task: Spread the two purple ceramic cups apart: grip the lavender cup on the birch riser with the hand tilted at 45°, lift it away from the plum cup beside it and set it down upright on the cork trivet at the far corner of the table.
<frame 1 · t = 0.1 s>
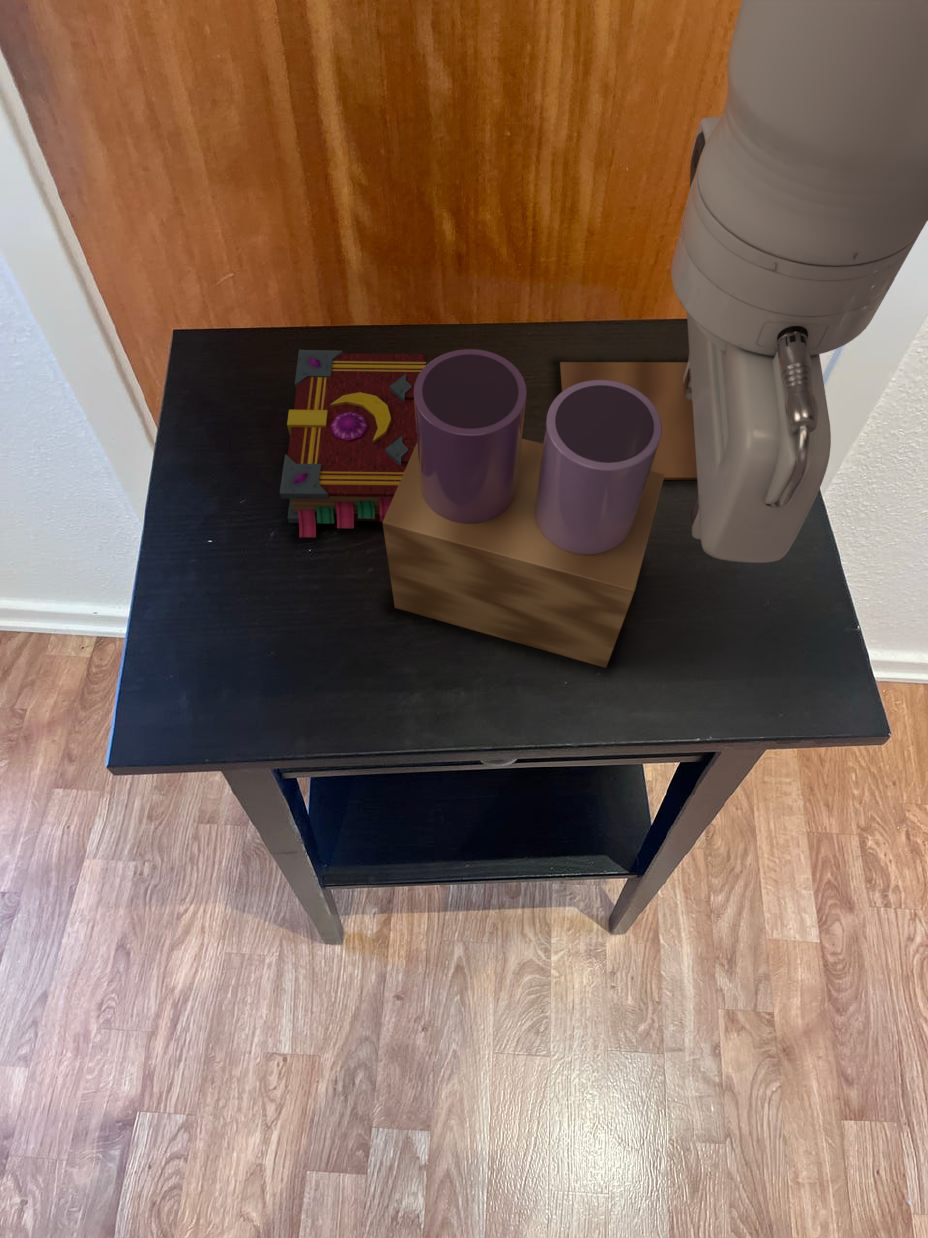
hand: (701, 457, 48), 21 cm above the table, tool pointing down, fingers open, 8 cm apart
plum cup: (468, 483, 58), point 12 cm above the table, touching riser
lavender cup: (584, 512, 57), point 12 cm above the table, touching riser
decorative book: (363, 460, 74), on the table
riser: (515, 586, 68), on the table
trivet: (637, 420, 76), on the table
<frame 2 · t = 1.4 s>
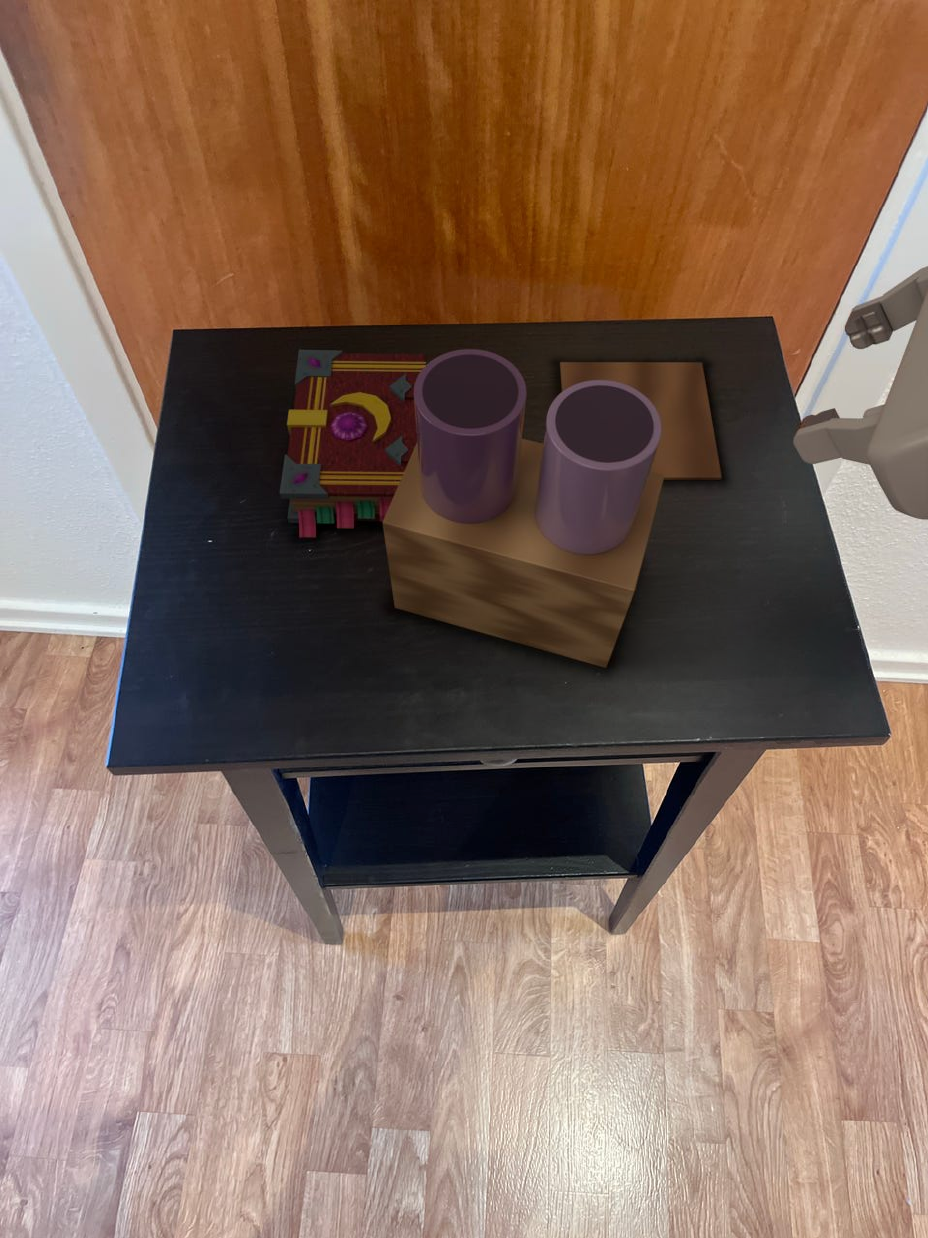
hand: (827, 383, 43), 27 cm above the table, tool tilted 45°, fingers open, 8 cm apart
nothing on the table moved.
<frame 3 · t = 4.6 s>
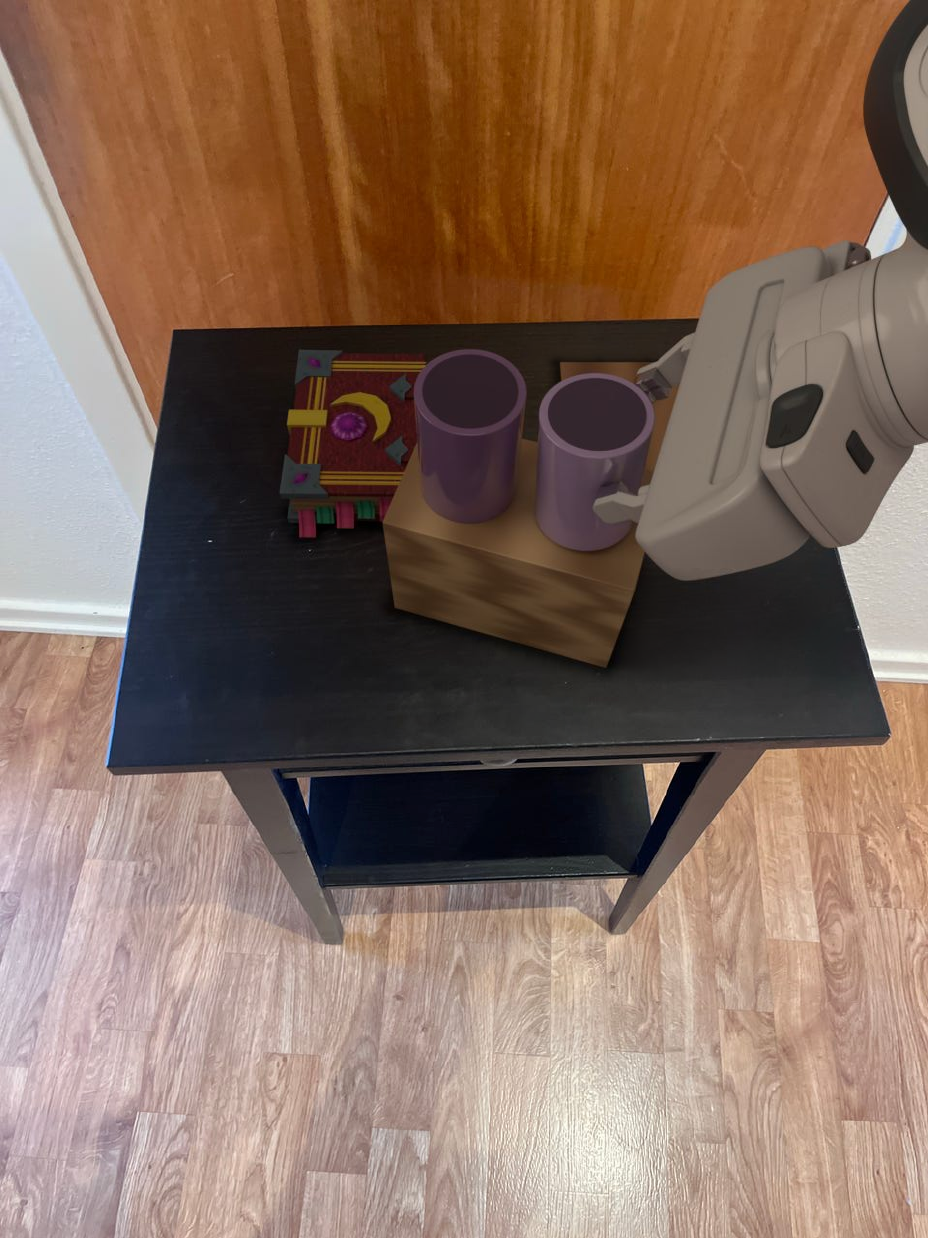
hand: (621, 445, 52), 18 cm above the table, tool tilted 45°, fingers open, 8 cm apart
lavender cup: (584, 510, 57), point 12 cm above the table, touching gripper, riser
everything else where it was.
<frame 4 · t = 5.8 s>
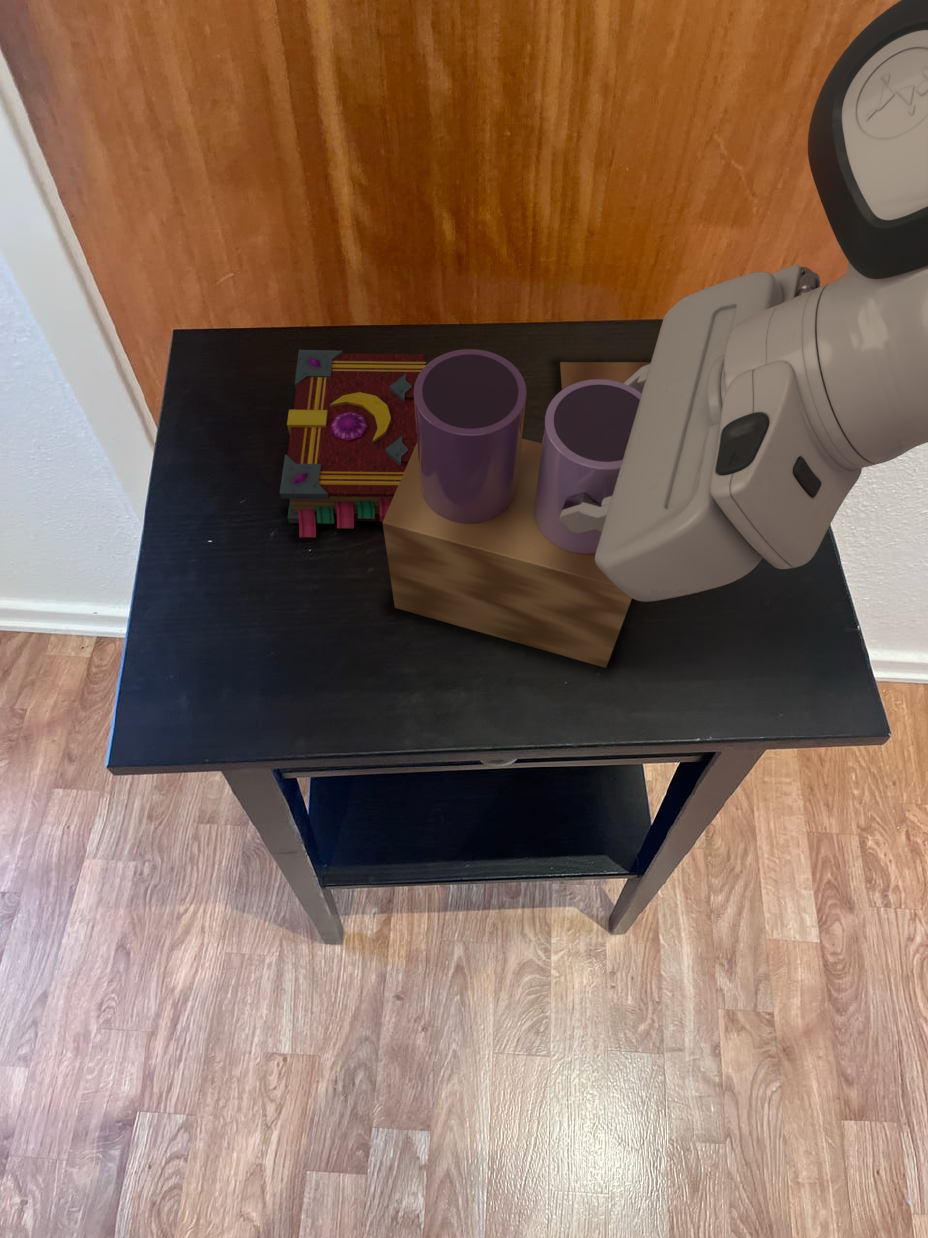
hand: (583, 466, 53), 17 cm above the table, tool tilted 45°, fingers closed on lavender cup, 6 cm apart
lavender cup: (583, 512, 57), point 12 cm above the table, touching gripper, riser
everything else where it was.
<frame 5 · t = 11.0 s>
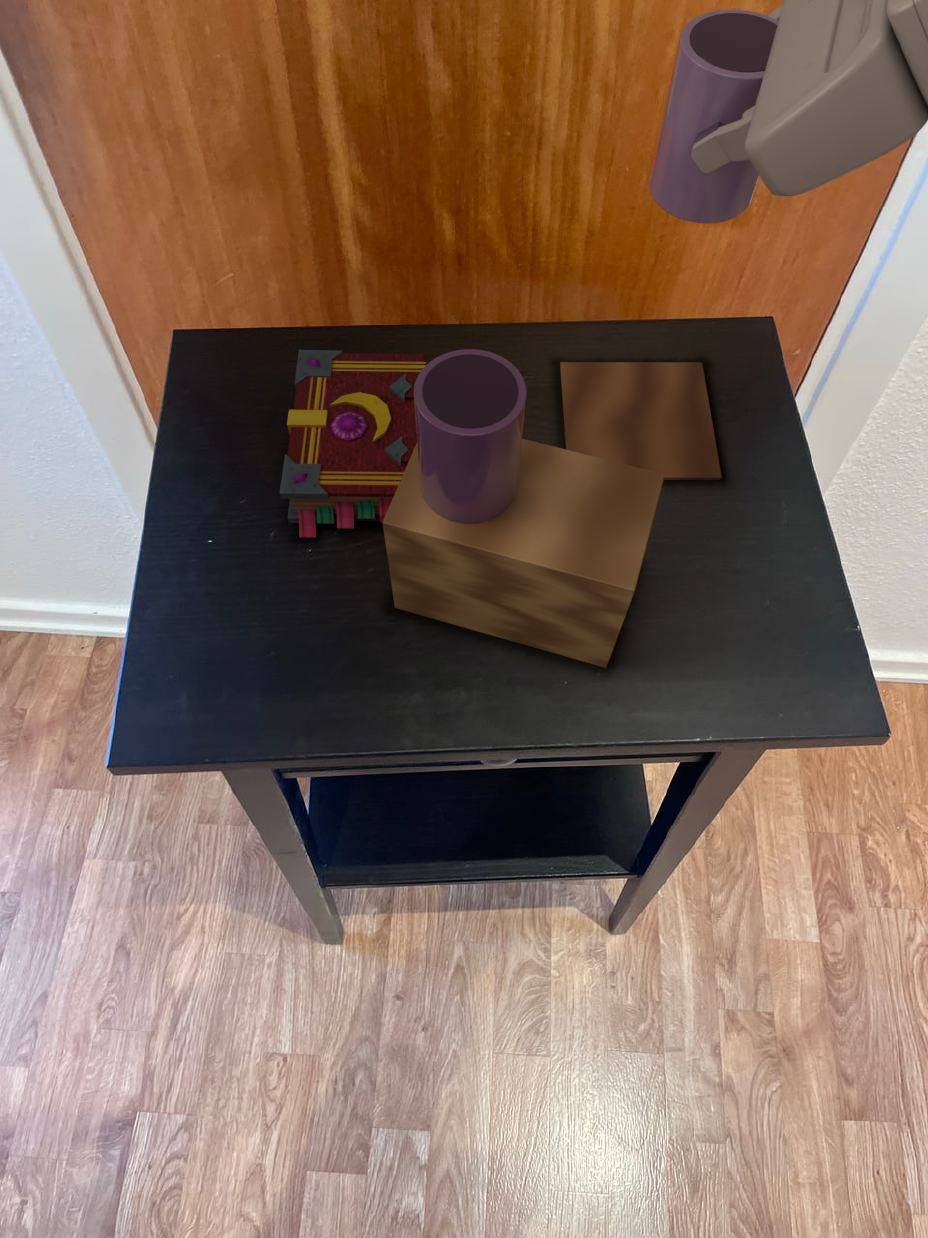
hand: (710, 116, 51), 28 cm above the table, tool tilted 45°, fingers closed on lavender cup, 6 cm apart
lavender cup: (700, 189, 55), point 23 cm above the table, touching gripper
everything else where it was.
when the fingers open (5 cm above the table, at t = 16.4 s): lavender cup stays where it is, resting on trivet.
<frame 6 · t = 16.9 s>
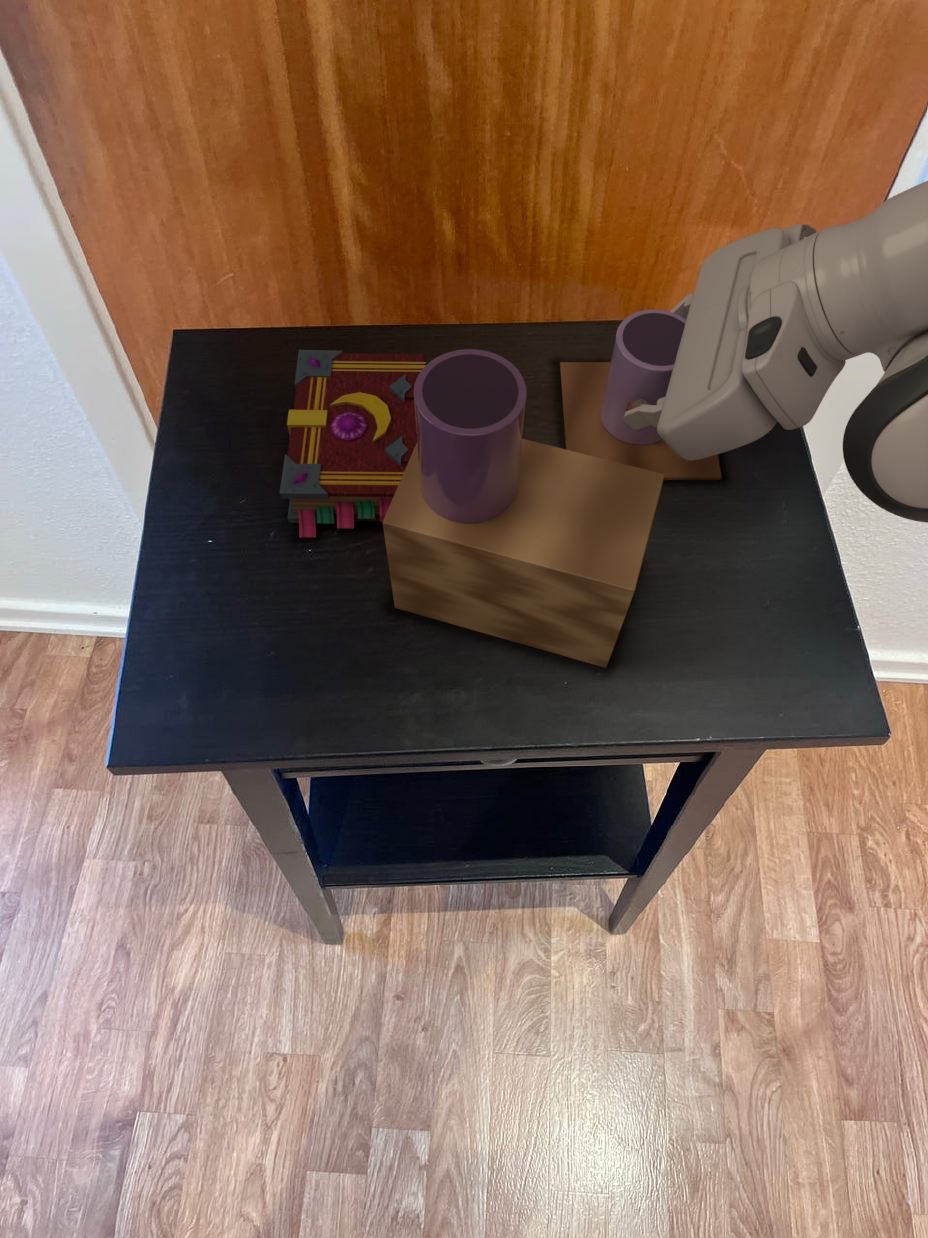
hand: (641, 375, 71), 5 cm above the table, tool tilted 45°, fingers open, 8 cm apart
lavender cup: (637, 415, 76), resting on trivet
everything else where it was.
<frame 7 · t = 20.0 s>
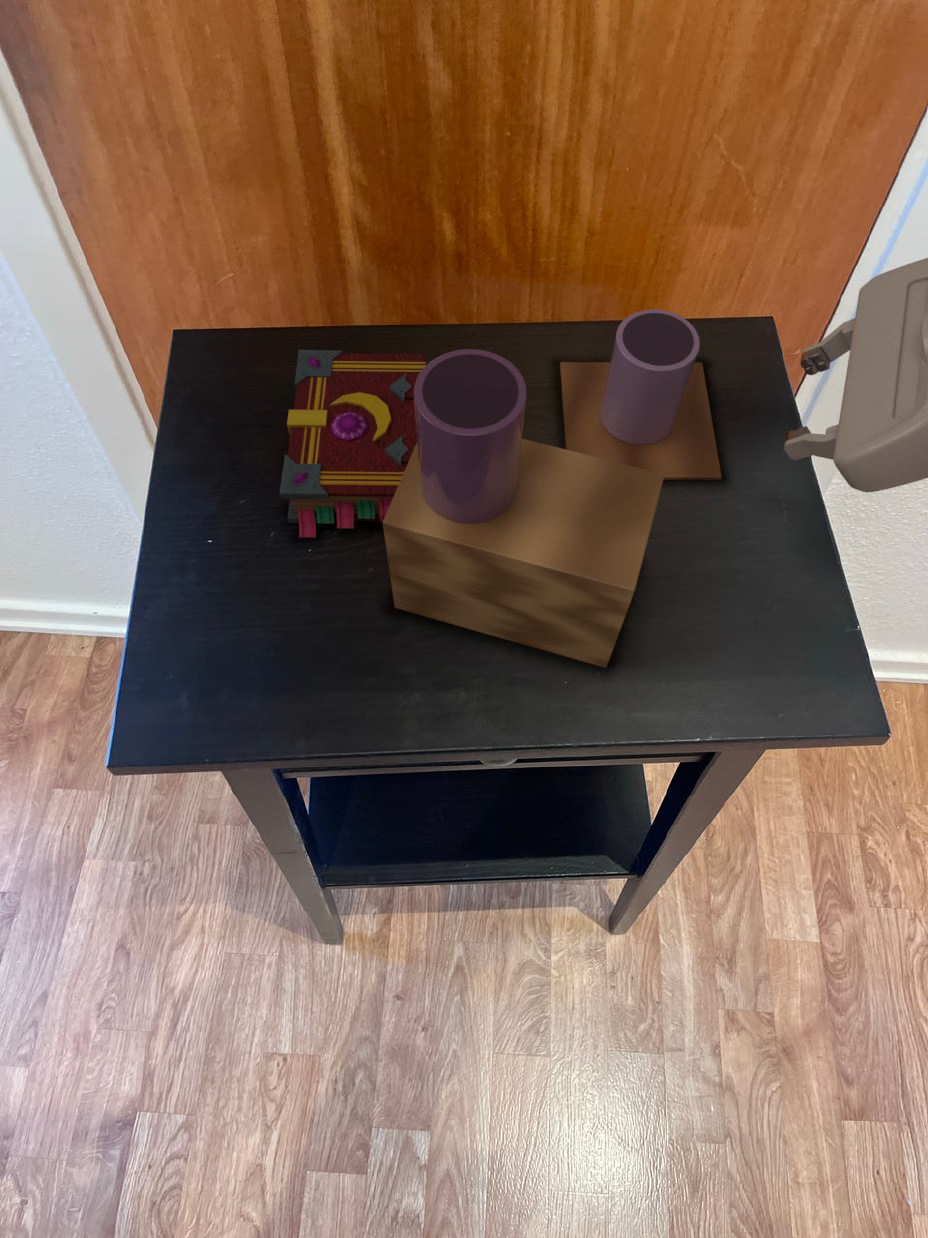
hand: (796, 403, 68), 7 cm above the table, tool tilted 45°, fingers open, 8 cm apart
nothing on the table moved.
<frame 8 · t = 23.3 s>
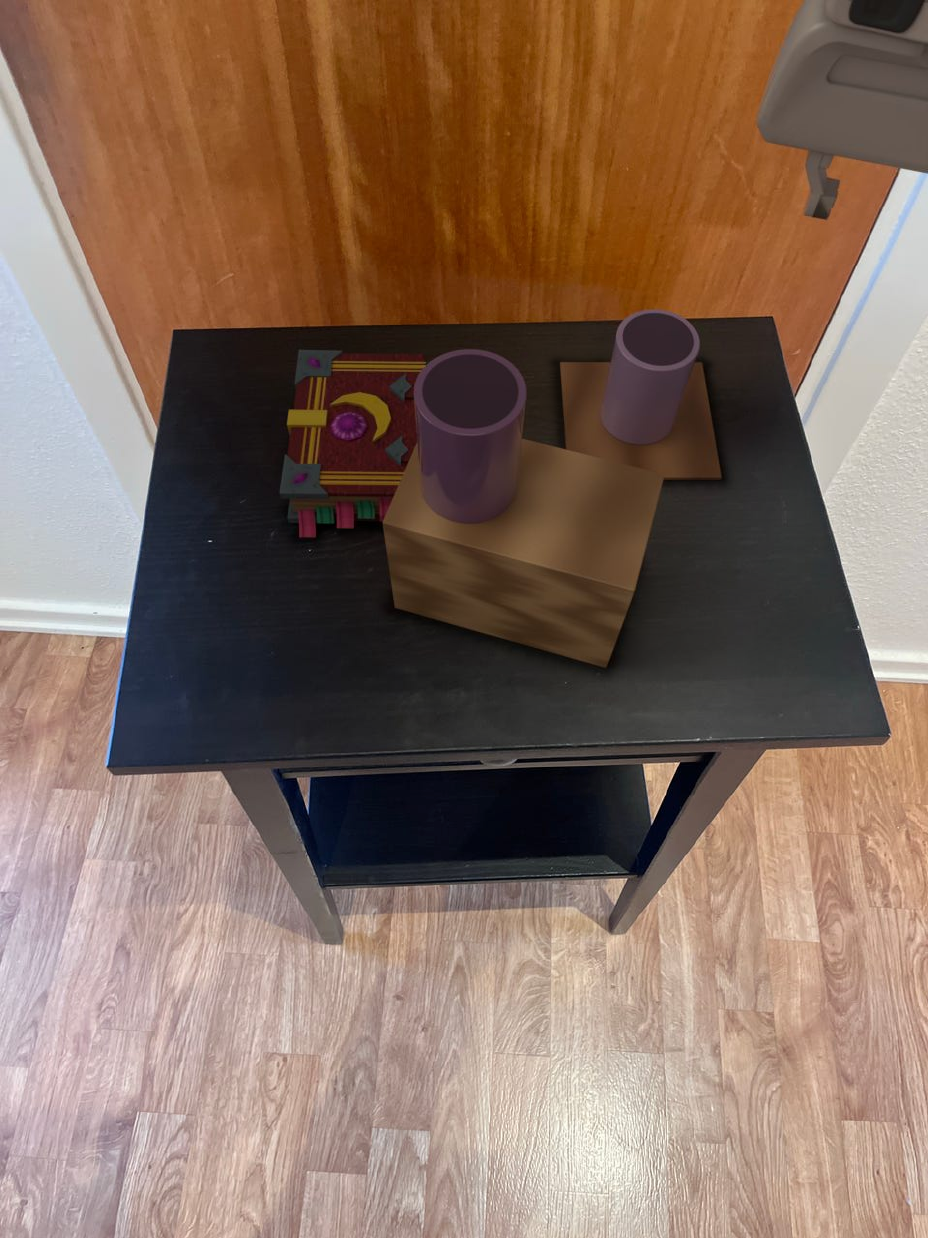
hand: (892, 227, 54), 23 cm above the table, tool pointing down, fingers open, 8 cm apart
nothing on the table moved.
at the end: lavender cup inside the target area on the trivet (0.2 cm from its centre), point 0.4 cm above the trivet's base; lavender cup tilted 0°; plum cup moved 0.0 cm from its start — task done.
